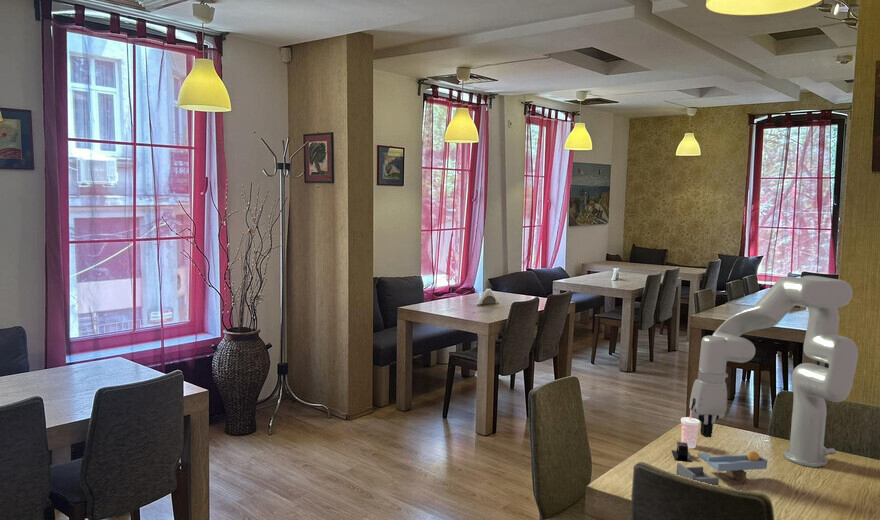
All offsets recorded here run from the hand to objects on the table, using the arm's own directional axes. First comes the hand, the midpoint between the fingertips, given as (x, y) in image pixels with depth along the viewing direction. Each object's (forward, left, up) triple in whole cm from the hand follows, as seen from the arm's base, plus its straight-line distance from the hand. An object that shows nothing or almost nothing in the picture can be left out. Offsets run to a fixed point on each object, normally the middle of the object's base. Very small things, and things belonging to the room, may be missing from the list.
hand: (705, 435), depth 205 cm
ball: (-12, +6, -5) cm, 14 cm away
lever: (-7, +4, -7) cm, 10 cm away
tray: (+6, +6, -11) cm, 14 cm away
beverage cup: (-8, -21, -12) cm, 25 cm away
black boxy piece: (0, -12, -12) cm, 17 cm away
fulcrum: (-7, +6, -11) cm, 15 cm away
